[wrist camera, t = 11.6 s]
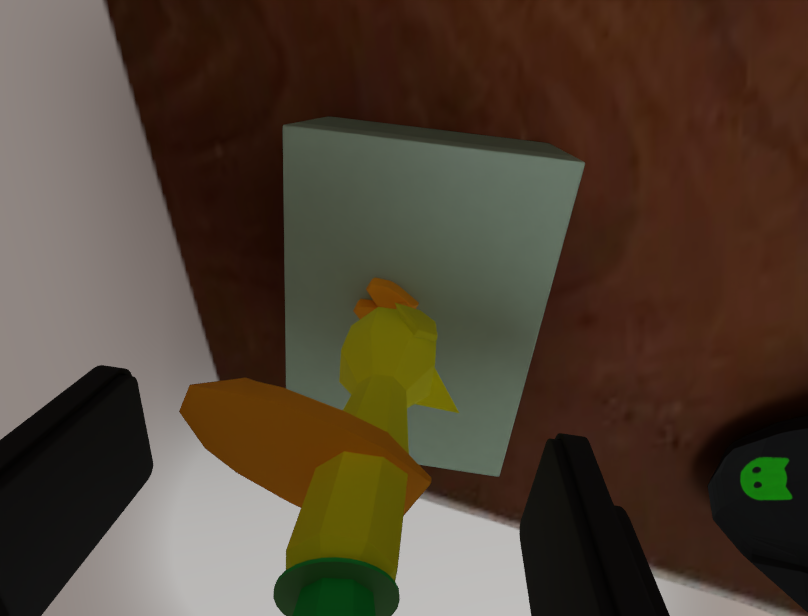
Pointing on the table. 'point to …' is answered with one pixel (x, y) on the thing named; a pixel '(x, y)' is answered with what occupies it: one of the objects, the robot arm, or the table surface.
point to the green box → (425, 263)
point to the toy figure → (336, 456)
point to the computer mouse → (768, 502)
